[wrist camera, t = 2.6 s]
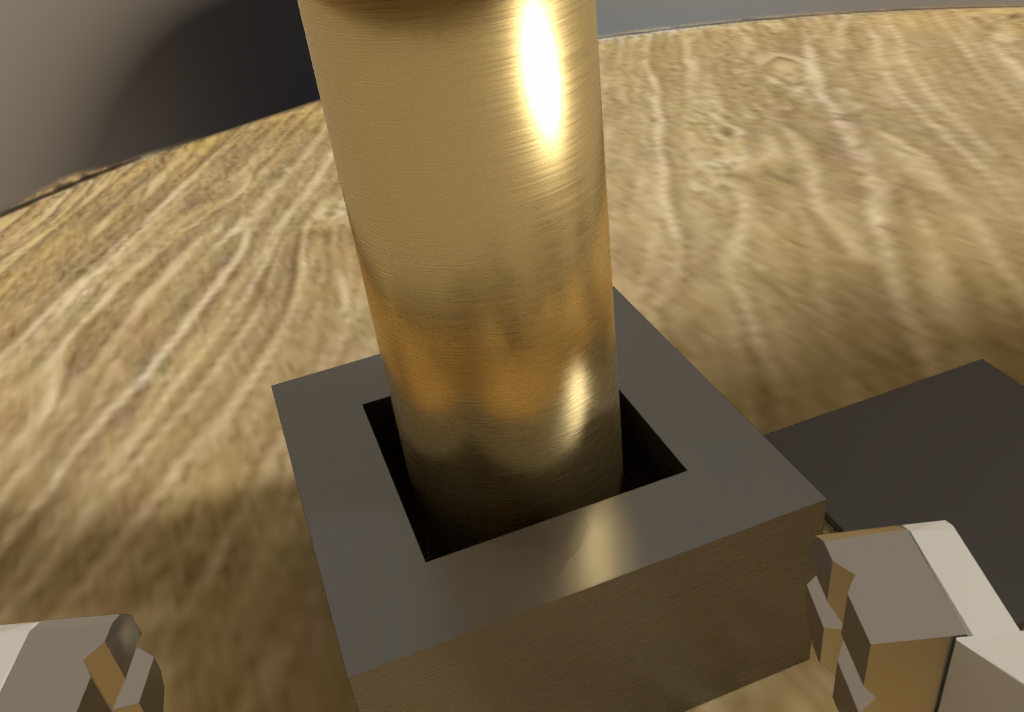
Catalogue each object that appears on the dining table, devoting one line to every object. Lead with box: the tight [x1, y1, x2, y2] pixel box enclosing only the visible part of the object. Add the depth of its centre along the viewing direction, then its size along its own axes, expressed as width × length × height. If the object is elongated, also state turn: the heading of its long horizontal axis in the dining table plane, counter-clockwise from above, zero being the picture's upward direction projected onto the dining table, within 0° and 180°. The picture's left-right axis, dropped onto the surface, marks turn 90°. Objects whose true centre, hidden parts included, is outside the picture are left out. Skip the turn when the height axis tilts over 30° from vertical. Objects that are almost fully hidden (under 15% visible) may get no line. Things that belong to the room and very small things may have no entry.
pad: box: [763, 359, 1024, 629], centre depth 30 cm, size 10×10×1 cm
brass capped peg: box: [298, 0, 625, 561], centre depth 23 cm, size 7×7×20 cm
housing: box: [271, 286, 826, 712], centre depth 27 cm, size 12×12×6 cm
